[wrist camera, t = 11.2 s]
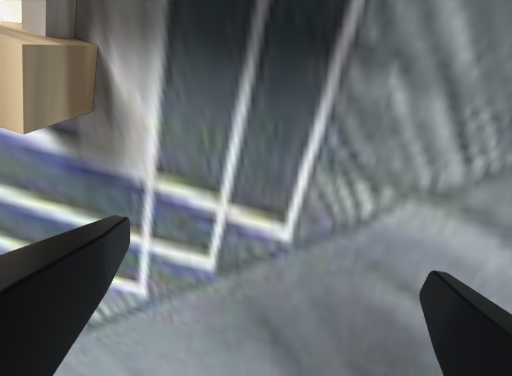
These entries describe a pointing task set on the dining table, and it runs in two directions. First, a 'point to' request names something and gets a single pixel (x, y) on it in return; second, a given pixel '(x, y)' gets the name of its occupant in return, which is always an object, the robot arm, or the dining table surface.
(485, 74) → the dining table surface
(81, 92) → the wooden mallet
